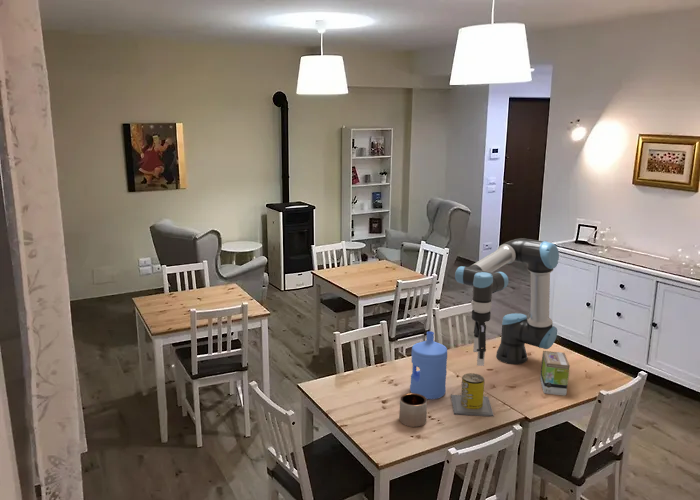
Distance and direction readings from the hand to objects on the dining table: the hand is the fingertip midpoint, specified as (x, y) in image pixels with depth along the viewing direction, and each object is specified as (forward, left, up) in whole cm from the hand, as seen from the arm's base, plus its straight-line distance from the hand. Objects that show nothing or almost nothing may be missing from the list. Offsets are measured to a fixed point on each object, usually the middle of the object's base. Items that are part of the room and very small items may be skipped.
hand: (478, 358), depth 242 cm
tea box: (-20, +37, -21) cm, 48 cm away
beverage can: (+2, -2, -20) cm, 21 cm away
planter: (+17, -27, -21) cm, 38 cm away
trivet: (+2, -2, -21) cm, 21 cm away
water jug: (-9, -20, -21) cm, 31 cm away
